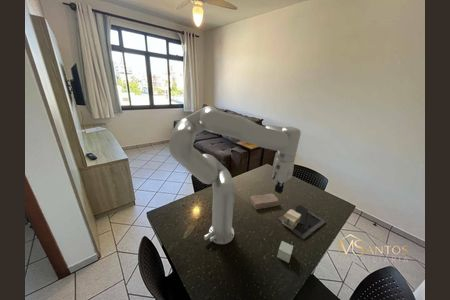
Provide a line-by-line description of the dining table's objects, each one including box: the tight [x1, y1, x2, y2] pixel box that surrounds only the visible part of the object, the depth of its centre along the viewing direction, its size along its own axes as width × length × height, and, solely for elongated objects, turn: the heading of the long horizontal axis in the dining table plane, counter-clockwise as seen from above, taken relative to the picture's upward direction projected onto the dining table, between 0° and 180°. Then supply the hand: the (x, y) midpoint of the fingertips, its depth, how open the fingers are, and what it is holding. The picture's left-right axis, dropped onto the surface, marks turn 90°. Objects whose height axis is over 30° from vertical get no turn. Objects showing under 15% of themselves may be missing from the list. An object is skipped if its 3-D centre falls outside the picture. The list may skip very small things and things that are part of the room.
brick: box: [249, 193, 280, 210], centre depth 109 cm, size 17×8×5 cm, turn 106°
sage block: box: [276, 240, 294, 264], centre depth 77 cm, size 5×5×5 cm
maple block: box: [281, 208, 301, 230], centre depth 93 cm, size 5×6×8 cm
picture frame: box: [277, 204, 327, 241], centre depth 97 cm, size 16×2×21 cm
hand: (278, 191), depth 82 cm, fingers closed
